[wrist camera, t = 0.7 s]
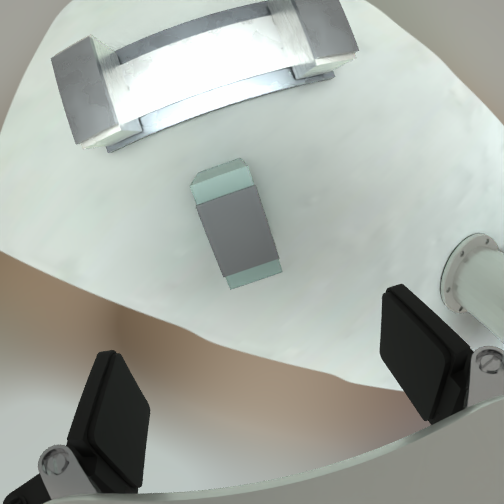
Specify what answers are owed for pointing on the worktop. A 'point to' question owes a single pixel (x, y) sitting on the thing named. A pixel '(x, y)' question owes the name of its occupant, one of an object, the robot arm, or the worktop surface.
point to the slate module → (235, 223)
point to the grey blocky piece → (198, 68)
